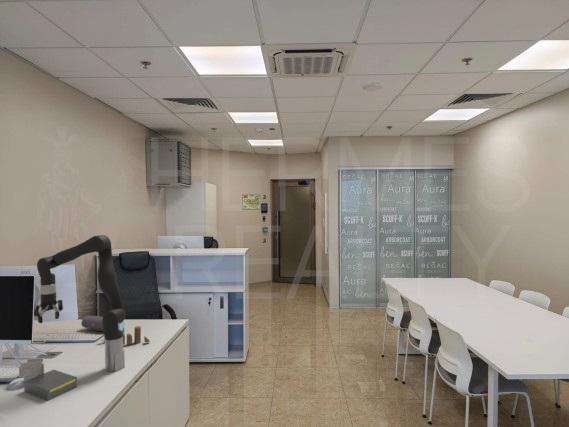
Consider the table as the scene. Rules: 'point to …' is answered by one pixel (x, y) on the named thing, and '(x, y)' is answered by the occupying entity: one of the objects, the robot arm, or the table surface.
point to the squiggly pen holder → (120, 327)
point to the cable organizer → (31, 368)
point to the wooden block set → (135, 336)
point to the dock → (50, 384)
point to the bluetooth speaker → (93, 323)
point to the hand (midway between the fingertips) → (48, 320)
